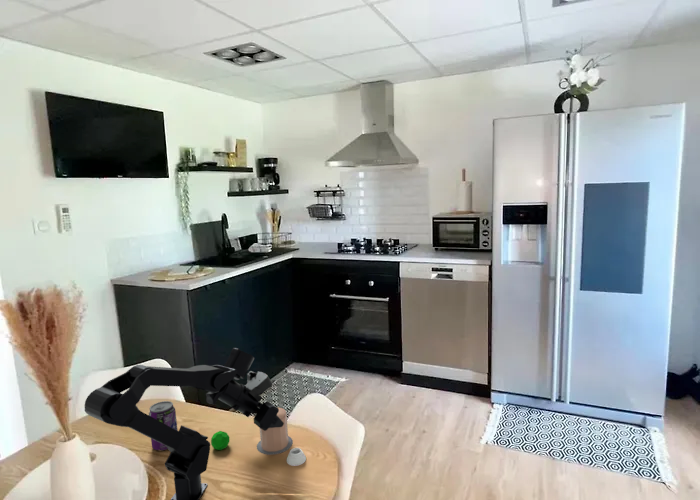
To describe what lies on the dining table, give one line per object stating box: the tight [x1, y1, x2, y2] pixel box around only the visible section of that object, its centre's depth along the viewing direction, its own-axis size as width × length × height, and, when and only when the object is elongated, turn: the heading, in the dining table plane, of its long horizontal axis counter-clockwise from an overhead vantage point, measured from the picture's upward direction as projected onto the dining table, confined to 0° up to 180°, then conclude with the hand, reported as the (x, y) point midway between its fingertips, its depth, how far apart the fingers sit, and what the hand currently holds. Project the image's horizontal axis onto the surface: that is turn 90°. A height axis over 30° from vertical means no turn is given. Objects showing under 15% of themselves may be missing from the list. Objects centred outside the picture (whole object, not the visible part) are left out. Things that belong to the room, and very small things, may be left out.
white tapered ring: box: [286, 447, 307, 467], centre depth 116 cm, size 5×3×5 cm
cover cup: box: [259, 406, 289, 452], centre depth 123 cm, size 7×7×9 cm
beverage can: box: [148, 400, 179, 451], centre depth 125 cm, size 7×7×12 cm
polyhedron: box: [210, 430, 231, 451], centre depth 123 cm, size 5×5×5 cm
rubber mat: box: [256, 435, 293, 456], centre depth 124 cm, size 10×10×1 cm
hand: (274, 418), depth 123 cm, fingers open, 9 cm apart
